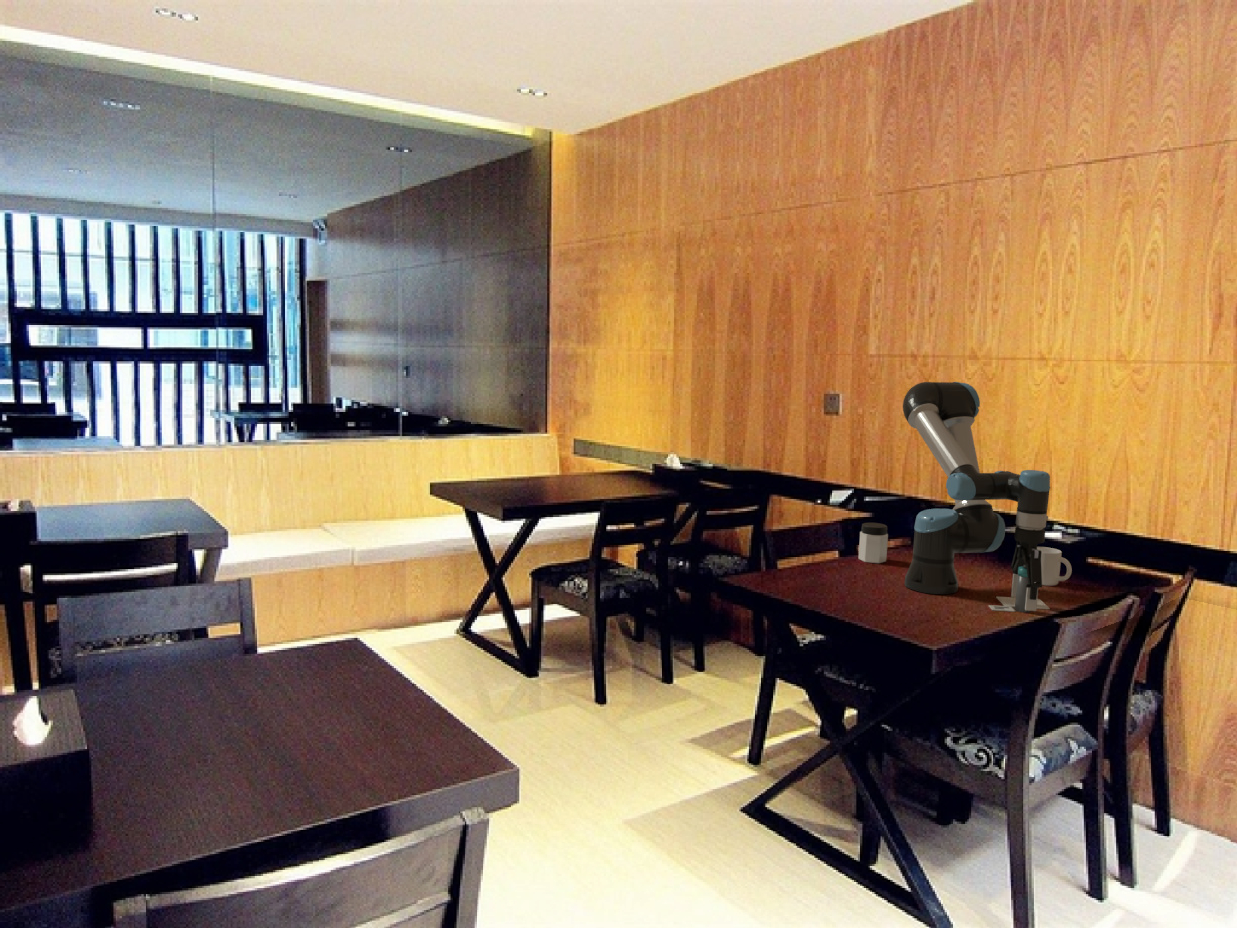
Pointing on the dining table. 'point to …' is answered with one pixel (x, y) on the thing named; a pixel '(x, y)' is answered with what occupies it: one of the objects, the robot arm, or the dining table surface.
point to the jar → (873, 543)
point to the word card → (1001, 608)
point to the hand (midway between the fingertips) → (1023, 603)
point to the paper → (1011, 601)
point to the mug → (1052, 566)
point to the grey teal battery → (1021, 589)
